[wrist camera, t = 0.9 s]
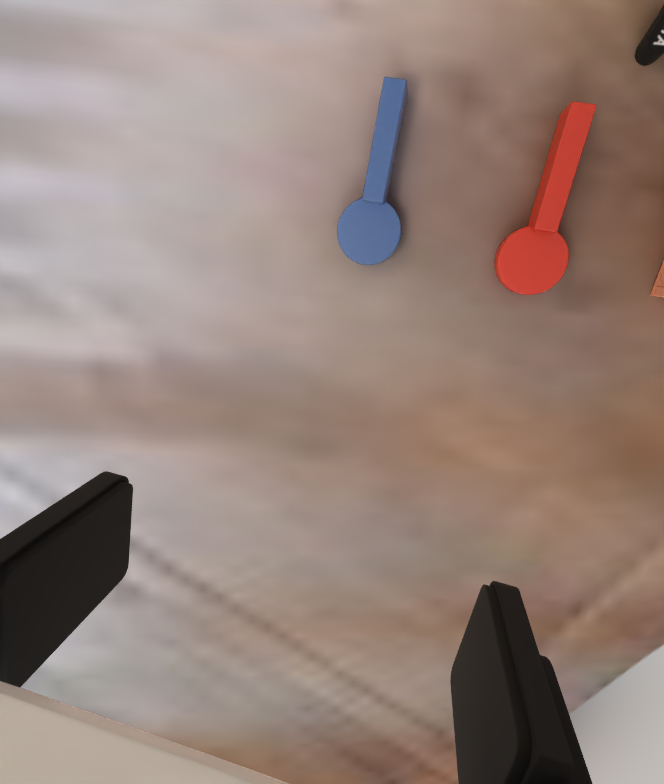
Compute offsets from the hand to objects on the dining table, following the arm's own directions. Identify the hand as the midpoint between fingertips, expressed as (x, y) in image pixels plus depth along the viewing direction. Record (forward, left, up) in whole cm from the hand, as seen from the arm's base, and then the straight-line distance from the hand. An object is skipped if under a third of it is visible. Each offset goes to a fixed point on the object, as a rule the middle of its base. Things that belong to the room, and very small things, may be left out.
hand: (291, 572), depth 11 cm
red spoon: (-13, +9, -24) cm, 29 cm away
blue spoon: (-13, -2, -24) cm, 27 cm away
